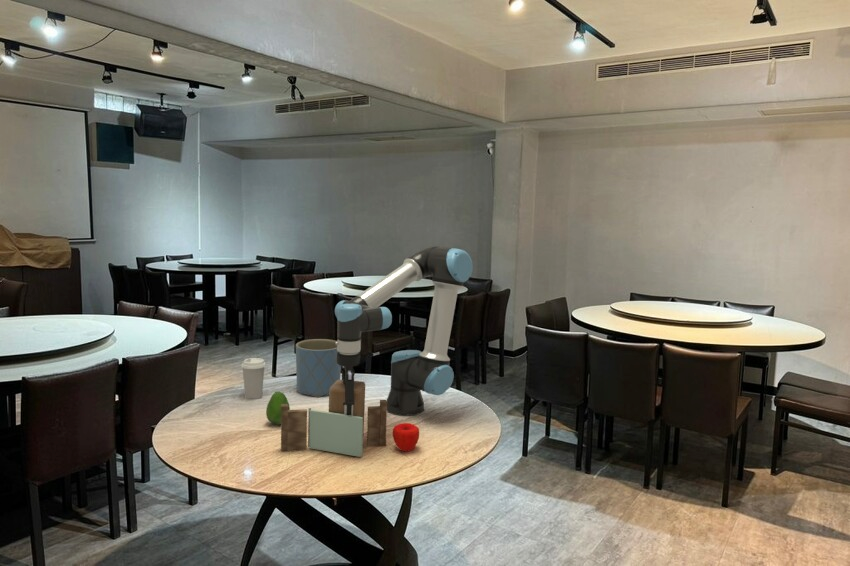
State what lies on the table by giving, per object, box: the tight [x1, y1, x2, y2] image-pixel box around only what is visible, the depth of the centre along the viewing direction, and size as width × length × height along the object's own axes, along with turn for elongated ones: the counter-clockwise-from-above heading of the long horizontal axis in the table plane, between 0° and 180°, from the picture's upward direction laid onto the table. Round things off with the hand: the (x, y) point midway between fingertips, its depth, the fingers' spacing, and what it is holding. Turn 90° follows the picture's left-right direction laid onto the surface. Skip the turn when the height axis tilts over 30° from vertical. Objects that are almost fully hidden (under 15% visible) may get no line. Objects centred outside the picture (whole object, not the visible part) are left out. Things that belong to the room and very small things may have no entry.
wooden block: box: [328, 379, 366, 437], centre depth 189 cm, size 10×10×20 cm
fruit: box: [265, 391, 291, 426], centre depth 205 cm, size 8×8×12 cm
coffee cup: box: [240, 357, 267, 400], centre depth 231 cm, size 10×10×15 cm
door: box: [307, 407, 364, 458], centre depth 183 cm, size 19×1×13 cm, turn 73°
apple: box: [392, 422, 420, 452], centre depth 188 cm, size 9×9×8 cm
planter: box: [295, 338, 342, 398], centre depth 241 cm, size 19×19×20 cm
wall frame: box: [280, 399, 388, 453], centre depth 187 cm, size 34×2×15 cm, turn 103°
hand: (346, 416), depth 189 cm, fingers closed on wooden block, 12 cm apart
